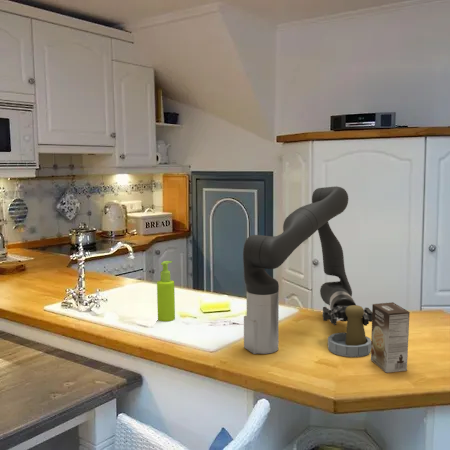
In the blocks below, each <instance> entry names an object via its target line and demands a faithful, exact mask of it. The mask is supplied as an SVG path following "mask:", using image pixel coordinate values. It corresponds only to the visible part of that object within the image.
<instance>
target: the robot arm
mask: <svg viewBox="0 0 450 450" xmlns="http://www.w3.org/2000/svg"><path fill="white" fill-rule="evenodd" d="M348 204H349V194H348V192H347V190H346V189H345V188H344V187H342V186H337V185H336V186H328V187H317V188H316V189H314V190H313V193H312V195H311V203H308V204H305V205H303V206H300V207H299V208H296V209H294V211H293V212H291V213H289V214H288V215H287V216H286V218H285V219H284V220H283V225H282V231H283V232H281V233H280V234H278V235H276V236H275V235H273V236H269V235H261V234H251V235H249V236H248V237H247V238H246V240H245V242H244V245H243V250H242V251H243V252H242V261H243V277H244V278H243V279H244V283H245V286H246V315H244V316H243V348H244V349H245V350H247V351H249V352H250V353H252V354H253V355H256V354H258V355H259V354H261V355H265V354H267V355H268V354H273V353H276V352H277V351H278V350H279V319H280V318H279V308H280V307H279V305H280V302H279V300H280V299H279V298H280V296H279V294H280V293H279V291H280V289H279V288H280V285H279V282H278V281H277V280H278V279H276V278H273V277H272V276H271V275H270V274H268V272H267V271H266V269H267V270H275V269H277V268H279V267H280V266H282V265H283V264H284V263H285V261H286V260H288V258H289V257H290V256H291V255H292V253H293V252H294V251H295V250H296V249H297V248H299V246H301V245H302V243H304V242H305V241H306V240H307V239H309V238H310V237H311V236H312V235H314V234H315V233H316V232H317V231H318V233H317V234H318V236H319V237H318V238H319V241H320V244H321V254H322V265H323V266H322V267H323V272H324V274H325V275H326V276H331V277H337V278H339V281H329V282H324V283H322V285H321V286H320V288H319V294H320V297H321V299H322V301H323V302H324V303H325V304H327V305H328V306H329V307H330V309H329V308H327V307H326V306H322V319H323V321H325V322H326V321H327V322H328V321H329V322H330V323H331V324H333V326H337V325H338V324H337V323H338V322H339V321H340V322H347V319H348V317H347V316H346V313H345V310H346V308H347V307H348V306H351V305H357V304H356V302H355V300H354V298H353V297H352V296H353V290H352V287H351V284H350V282H349V280H348V277H347V273H346V268H345V258H344V251H343V247H342V245H341V243H340V241H339V239H338V238H337V236H336V235H335V233H334V232H333V230H332V228H331V226H330V223H329V221H330V220H332V219H333V218H335V217H337V216H338V215H341V214H342V213H344V212H345V210H346V208H347V207H348ZM363 310H364V315H363V317H362V319H363V325H364V327H365V326H366V327H367V326H368V325H369V323H370V322H371V323H372V310H371V309H370V308H369V307H364V308H363Z"/></svg>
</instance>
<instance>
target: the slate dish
mask: <svg viewBox="0 0 450 450" xmlns="http://www.w3.org/2000/svg"><path fill="white" fill-rule="evenodd" d="M365 336H366V335H365ZM345 342H346V332H343V331H342V332H336V333H332V334H330V335H329V336H327V346H328V347H327V348H328V351H329V352H330V353H332V354H333V355H337V356H340V357H346V358H361V357H365V356H369V354H370V355H371V338H370V337H369V336H366V342H367V343H366V344H363V345H358V346H349V345H346V344H345Z"/></svg>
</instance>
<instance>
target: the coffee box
mask: <svg viewBox="0 0 450 450" xmlns="http://www.w3.org/2000/svg"><path fill="white" fill-rule="evenodd" d="M371 305H372V310H371V311H372V322H371V338H370V339H371V352H370V361H371V362H373V363H374V364H375V365H376V366H378V367H379V368H380V370H382V371H383V372H385V373H396V372H406V371H408V357H409V355H408V353H409V352H408V350H409V333H410V313H411V312H410V311H408V310H407V309H405V308H403V307H402V306H400V305H398V304H397V303H395V302H382V303H372V304H371Z"/></svg>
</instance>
